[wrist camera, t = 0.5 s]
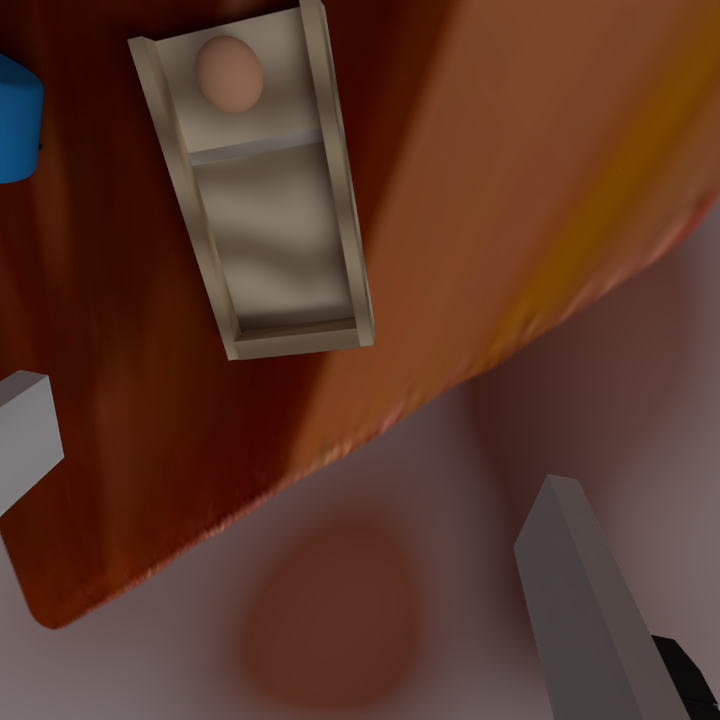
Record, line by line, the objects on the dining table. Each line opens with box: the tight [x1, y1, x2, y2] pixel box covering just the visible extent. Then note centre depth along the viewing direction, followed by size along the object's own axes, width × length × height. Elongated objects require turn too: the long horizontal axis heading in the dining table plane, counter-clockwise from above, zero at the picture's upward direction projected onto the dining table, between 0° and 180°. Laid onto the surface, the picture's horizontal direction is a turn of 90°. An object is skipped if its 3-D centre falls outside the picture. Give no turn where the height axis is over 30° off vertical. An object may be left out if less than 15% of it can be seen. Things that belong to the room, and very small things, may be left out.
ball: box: [195, 35, 263, 113], centre depth 27 cm, size 4×4×4 cm
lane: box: [127, 0, 376, 360], centre depth 32 cm, size 22×12×3 cm, turn 9°
